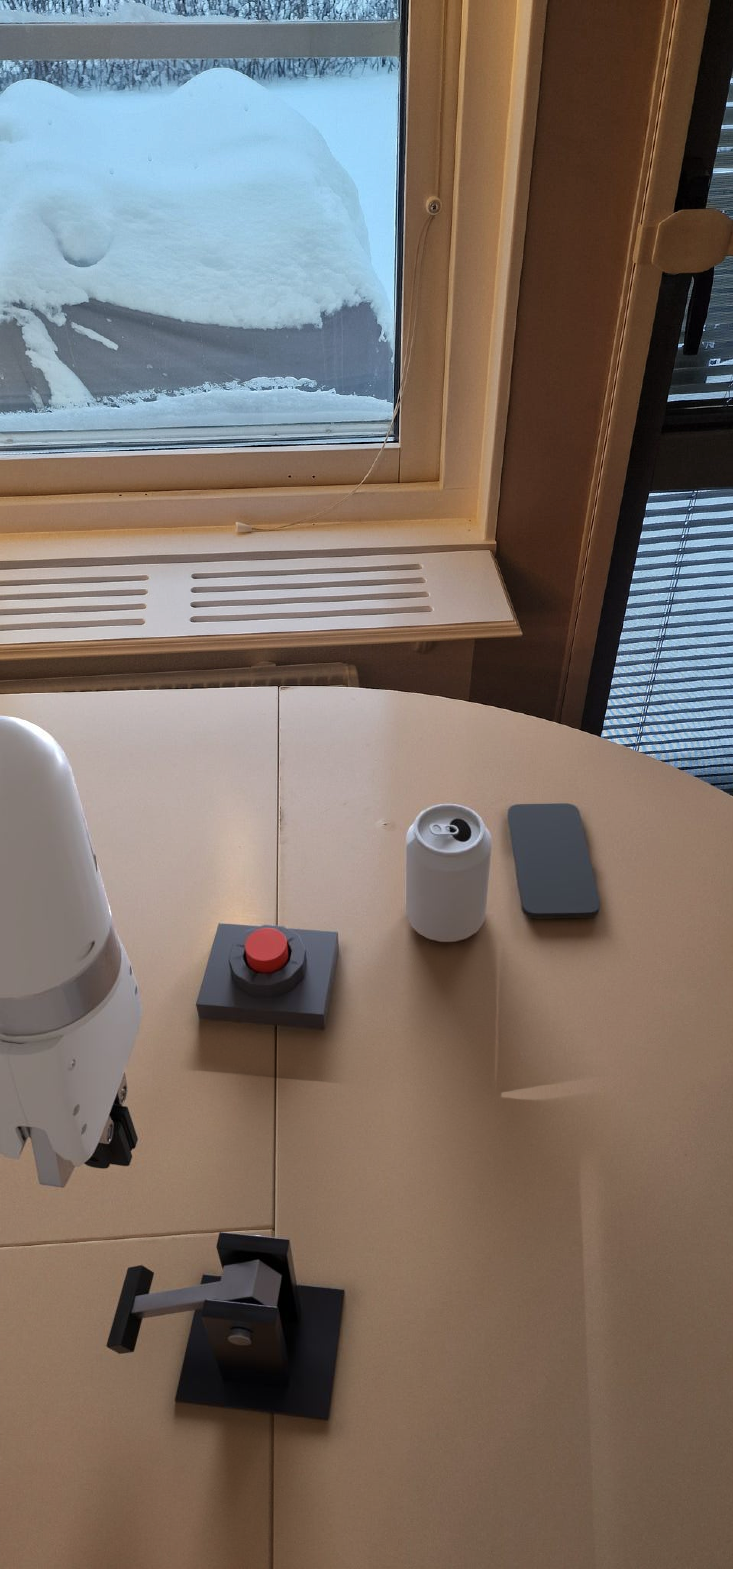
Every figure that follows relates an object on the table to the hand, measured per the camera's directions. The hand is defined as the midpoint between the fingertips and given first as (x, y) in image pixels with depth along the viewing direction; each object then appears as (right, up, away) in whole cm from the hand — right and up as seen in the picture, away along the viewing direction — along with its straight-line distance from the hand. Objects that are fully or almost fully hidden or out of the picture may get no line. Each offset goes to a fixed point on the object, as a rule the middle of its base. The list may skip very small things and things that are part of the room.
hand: (108, 1150), depth 61 cm
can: (+23, +9, +37) cm, 44 cm away
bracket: (+8, -17, +9) cm, 21 cm away
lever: (+5, -12, +5) cm, 14 cm away
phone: (+33, +14, +42) cm, 55 cm away
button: (+7, +7, +29) cm, 30 cm away
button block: (+7, +4, +32) cm, 32 cm away
